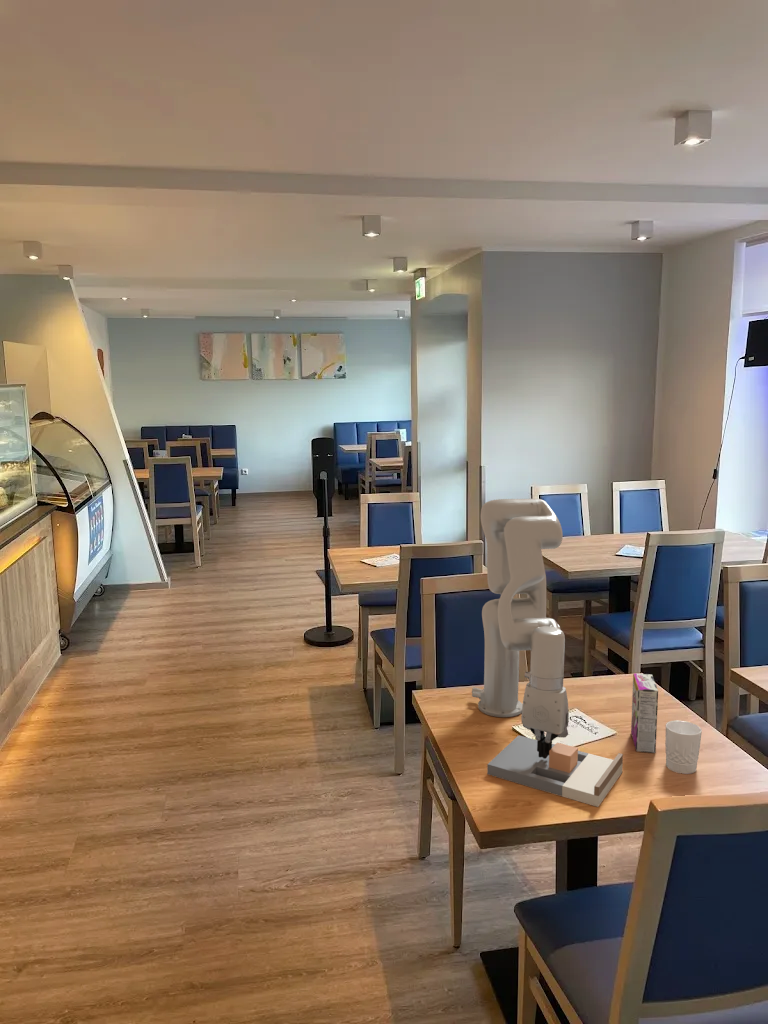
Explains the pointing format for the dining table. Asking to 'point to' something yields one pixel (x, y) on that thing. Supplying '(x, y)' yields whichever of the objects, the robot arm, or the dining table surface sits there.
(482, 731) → the dining table surface
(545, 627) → the robot arm
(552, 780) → the board
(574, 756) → the block
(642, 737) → the candy bar box
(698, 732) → the white cup
